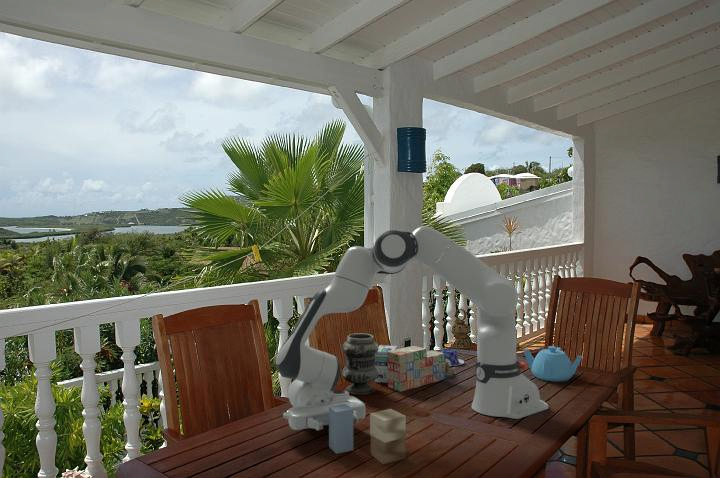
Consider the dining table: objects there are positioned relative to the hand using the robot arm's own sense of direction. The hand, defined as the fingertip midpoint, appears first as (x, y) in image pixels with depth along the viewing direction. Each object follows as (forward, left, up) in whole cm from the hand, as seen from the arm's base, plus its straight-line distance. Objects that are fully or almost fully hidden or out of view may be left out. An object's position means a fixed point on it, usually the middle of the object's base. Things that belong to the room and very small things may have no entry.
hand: (338, 423), depth 136 cm
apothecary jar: (-24, -38, -6) cm, 46 cm away
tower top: (-8, +11, -1) cm, 13 cm away
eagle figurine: (-58, -41, -6) cm, 72 cm away
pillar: (0, +2, -6) cm, 6 cm away
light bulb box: (-38, -46, -6) cm, 60 cm away
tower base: (-8, +11, -6) cm, 15 cm away
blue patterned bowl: (-70, -55, -6) cm, 89 cm away
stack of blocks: (-44, -36, -6) cm, 57 cm away
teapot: (-91, -22, -6) cm, 94 cm away
